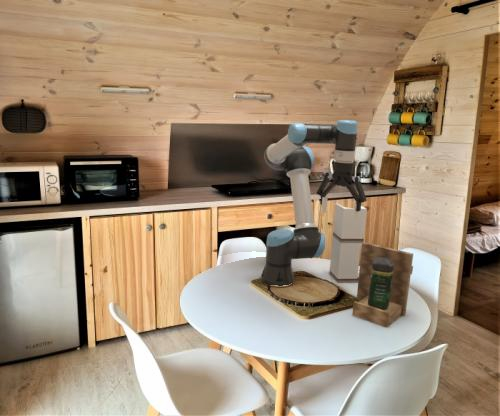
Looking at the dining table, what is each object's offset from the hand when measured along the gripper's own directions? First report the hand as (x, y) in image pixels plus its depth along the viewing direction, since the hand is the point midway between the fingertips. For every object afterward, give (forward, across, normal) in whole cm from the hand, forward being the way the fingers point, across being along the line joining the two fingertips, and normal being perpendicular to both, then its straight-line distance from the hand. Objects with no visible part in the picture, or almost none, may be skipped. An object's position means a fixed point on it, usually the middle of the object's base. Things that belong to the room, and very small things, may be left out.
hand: (339, 216), depth 171 cm
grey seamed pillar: (+37, -10, +30) cm, 49 cm away
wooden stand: (+37, +16, +5) cm, 40 cm away
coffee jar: (+33, +18, +4) cm, 38 cm away
